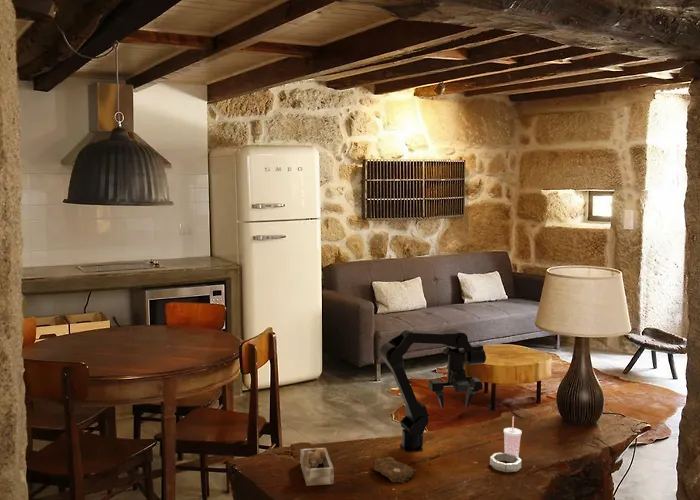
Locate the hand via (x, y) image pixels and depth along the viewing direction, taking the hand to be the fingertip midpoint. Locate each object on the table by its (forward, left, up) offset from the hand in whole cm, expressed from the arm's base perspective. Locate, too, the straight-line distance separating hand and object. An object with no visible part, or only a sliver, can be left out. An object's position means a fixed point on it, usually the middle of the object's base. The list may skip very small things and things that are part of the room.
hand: (454, 408), depth 252 cm
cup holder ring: (+11, -21, -13) cm, 27 cm away
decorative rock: (-28, -21, -14) cm, 38 cm away
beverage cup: (+16, -14, -13) cm, 25 cm away
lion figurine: (-52, -18, -13) cm, 57 cm away
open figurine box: (-52, -18, -13) cm, 57 cm away
